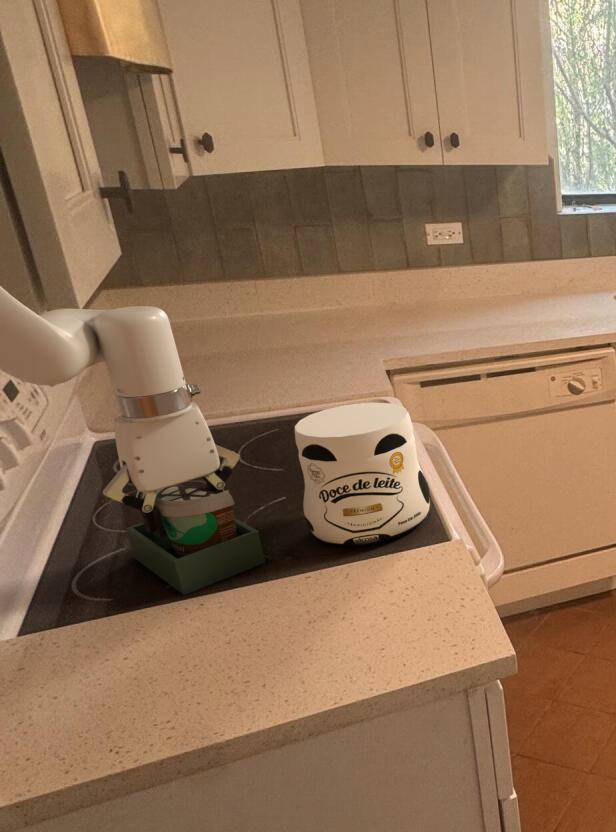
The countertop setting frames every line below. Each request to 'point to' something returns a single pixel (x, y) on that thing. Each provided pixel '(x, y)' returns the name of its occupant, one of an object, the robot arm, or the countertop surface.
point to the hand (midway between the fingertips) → (189, 523)
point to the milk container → (361, 474)
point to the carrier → (197, 557)
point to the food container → (195, 517)
